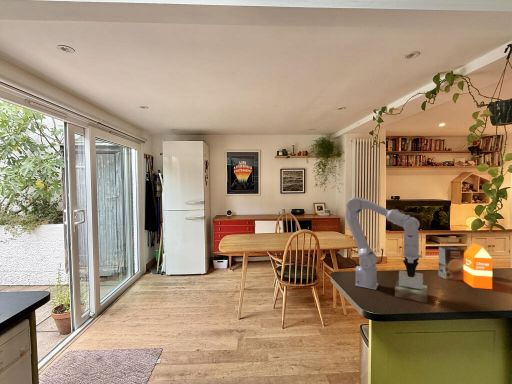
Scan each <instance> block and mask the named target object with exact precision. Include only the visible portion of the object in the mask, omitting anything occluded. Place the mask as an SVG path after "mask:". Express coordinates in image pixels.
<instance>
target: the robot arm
mask: <svg viewBox="0 0 512 384" xmlns="http://www.w3.org/2000/svg"><path fill="white" fill-rule="evenodd" d="M345 206H346V208H345V209H346V210H345V219H346V221H347V224H348V227H349V229H350V232H351V235H352V237H353V240H354V242H355V244H356V247H357V249H358V253H357V255H358V259H359V261H358V262H359V263H358V264H359V265H356V268H355V284H354V285H355V287H361V288H366V289H371V290H377V288H378V286H379V283H378V282H377V281H378V280H377V276H378V275H377V271H378V270H377V267H378V266H376V264H377V263H378V262H379V261H378V260H379V259H378V255H377V254H375V252H374V251H373V249H372V248H371V247H370V246H369V243H368V241H367V239H366V236H365V233H364V230H363V229H362V225H361V224H360V221H359V219H358V217H359V214H360V212H361V211H362V210H370V211H372V212H375V213H378V214H379V215H381V216H384V217H385V218H386V220H387V222H391V223H392V224H395V225H397V226H398V227H402V228H403V230H404V231H403V232H404V233H403V253H402V255H403V256H404V259H402V260H403V261H402V262H403V264H404V266H405V268H406V271H407V274H408V277H414V274H415V273H416V269H417V267H418V265H419V258H420V259H421V258H423V256H422V254H420V240H419V239H420V235H419V228H420V221H419V220H418V219H417V218H416V217H414V216H411V215H410V214H407V215H406V214H404V213H403V212H400V210H399V209H387V208H385V207H384V206H381V205H379V204H377V203H375V202H373V201H371V200H369V199H366V198H364V197H351V198H350V199H348V201H347V203H346V204H345Z"/></svg>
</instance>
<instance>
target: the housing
mask: <svg viewBox="0 0 512 384" xmlns="http://www.w3.org/2000/svg"><path fill="white" fill-rule="evenodd" d="M398 281H399V286H405V287H410V288H416V289H422V290H423V285H424V274H423V273H421V272H415V274H414V277H408V274H407V270H399V272H398Z"/></svg>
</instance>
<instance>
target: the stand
mask: <svg viewBox="0 0 512 384" xmlns="http://www.w3.org/2000/svg"><path fill="white" fill-rule="evenodd" d="M394 297H395V298H399V299H404V300H405V299H406V300H410V301H415V302H419V303H424V304H428V285H424V284H423V290H422V289H416V288H410V287H405V286H399V280H396V283H395V286H394Z"/></svg>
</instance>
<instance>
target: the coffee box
mask: <svg viewBox="0 0 512 384" xmlns="http://www.w3.org/2000/svg"><path fill="white" fill-rule="evenodd" d="M464 253H465V249H463V248H459V247H456V246H438V272H437V274H438V277H441V279H442V278H443V279H444V280H452V281H455V280H456V281H464Z"/></svg>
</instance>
